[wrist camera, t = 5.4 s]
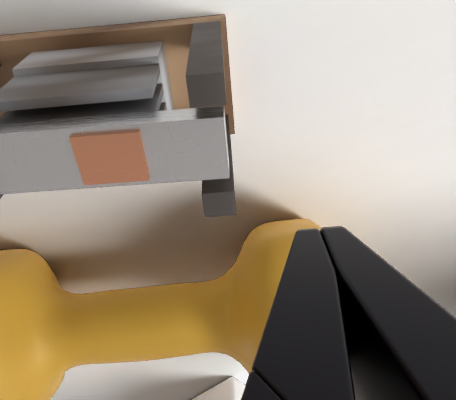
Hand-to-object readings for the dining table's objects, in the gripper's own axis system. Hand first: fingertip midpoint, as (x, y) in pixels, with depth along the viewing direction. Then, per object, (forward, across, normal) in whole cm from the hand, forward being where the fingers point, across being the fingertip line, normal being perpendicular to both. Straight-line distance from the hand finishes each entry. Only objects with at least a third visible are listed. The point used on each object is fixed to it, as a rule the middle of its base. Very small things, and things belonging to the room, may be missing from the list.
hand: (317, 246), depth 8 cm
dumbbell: (+12, +7, +11) cm, 18 cm away
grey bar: (+6, +7, 0) cm, 9 cm away
